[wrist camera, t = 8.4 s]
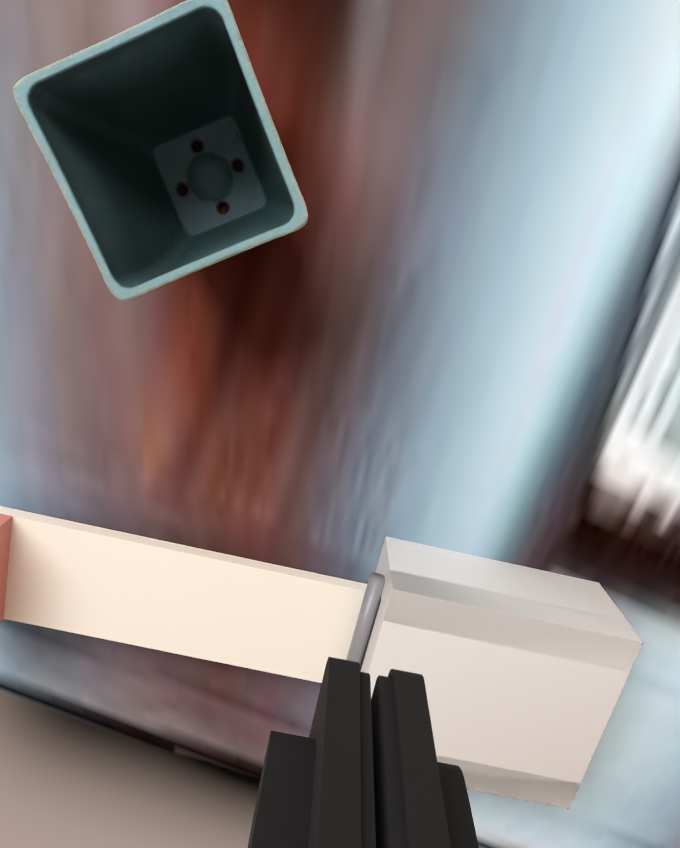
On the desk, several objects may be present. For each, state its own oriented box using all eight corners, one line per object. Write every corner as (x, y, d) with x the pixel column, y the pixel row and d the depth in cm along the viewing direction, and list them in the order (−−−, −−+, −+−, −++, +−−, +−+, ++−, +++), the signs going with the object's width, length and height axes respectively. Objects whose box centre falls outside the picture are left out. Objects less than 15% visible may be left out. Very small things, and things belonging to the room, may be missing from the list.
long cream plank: (399, 590, 37) (408, 653, 31) (371, 684, 38) (375, 758, 33) (-32, 499, 35) (-104, 547, 30) (-39, 601, 37) (-106, 664, 31)
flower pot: (321, 229, 32) (313, 223, 24) (174, 289, 33) (114, 306, 25) (256, 57, 30) (220, -19, 21) (100, 127, 31) (5, 83, 22)
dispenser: (598, 582, 38) (643, 642, 32) (538, 731, 42) (569, 809, 36) (371, 533, 37) (376, 585, 32) (328, 688, 41) (325, 761, 35)
